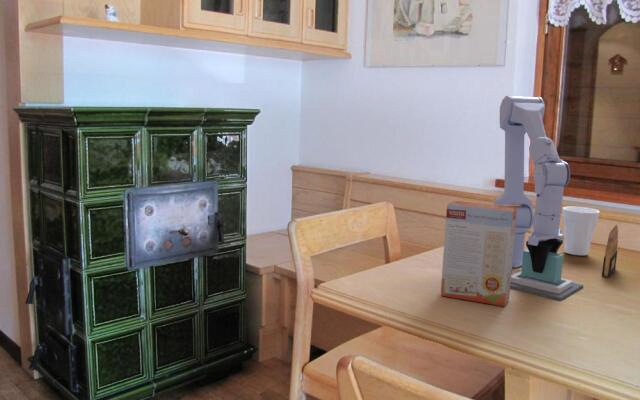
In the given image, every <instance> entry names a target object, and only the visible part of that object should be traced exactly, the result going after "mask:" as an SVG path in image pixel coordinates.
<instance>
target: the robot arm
mask: <svg viewBox="0 0 640 400" xmlns="http://www.w3.org/2000/svg"><path fill="white" fill-rule="evenodd" d="M501 100H502V101H501V103H500V106H499V128H500V129H501V130H503V131H504V185H503V186H504V189H503V190H504V193H502V194H501V195H500V196H499V197H497V198H496V199H495V200H494V201H493V204H492V205H499V206H506V205H507V206H508V207H516V208H517V212H516V224H515V237H514V248H513V259H512V268H514V269H515V268H519V267H522V259H523V251H524V250H525V246H526V249H528V250H529V253H530V256H531V262H532V268H533V272H538V273H543V270H544V267H545V263H546V259H547V256H548V254H549V252H552V253H557V254H558V251H559V249H560V247H561V246H562V245H563V242H564V233H563V234H562V228H560V225H561V216H562V209H563V198H564V189H565V188H566V187H567V186H568V184H569V182H570V181H571V180H570V179H571V169H570V166H569V163H568V162H566V161H564V159H561V158H560V157H559V153H558V151H557V148H556V146H555V144H554V141H553V139H551V138H550V137H547V134H546V130H545V126H544V121H543V118H544V114H545V111H546V110H545V109H546V105H545V102H544V101H545V100H543V98H542V97H541V96H537V97H535V96H534V97H532V96H511V95H506V96H504V98H503V99H501ZM526 134H527V136H528V138H529V140H530V145H529V146H528V147H529V148H528V150H529V154H530V157H531V159H532V162H533V165H534V167H535V168H534V172H533V182H534V193H535V194H536V195H535V196H536V198H535V207H534V203H533V201H532V200H531V199H530V197H528V196H527V195H525V189H524V187H525V186H524V185H525V135H526ZM531 228H532V230H531ZM529 230H531V232H530V235H528V240H526V233H529ZM525 241H526V242H525Z"/></svg>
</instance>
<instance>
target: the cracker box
mask: <svg viewBox="0 0 640 400" xmlns="http://www.w3.org/2000/svg"><path fill="white" fill-rule="evenodd" d="M508 206H509V205H504V206H499V205H493V204H488V203H480V202H479V203H478V202H472V201H458V200H453V201H451V202H449V203H447V205H446V214H445V217H446V218H445V229H444V241H443V255H442V272H441V285H440V287H441V288H440V296H441V297H445V298H446V297H447V298H453V299H458V300H463V301H464V300H465V301H470V302H475V303H483V304H486V305H487V304H489V305H493V306H498V307H505V306H506V305H507V304H508V302H509V300H510V295H511V294H510V293H511V288H510V283H511V276H512V269H513V267H512V259H513V248H514V237H515V224H516V212H517V208H516V207H508Z"/></svg>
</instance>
